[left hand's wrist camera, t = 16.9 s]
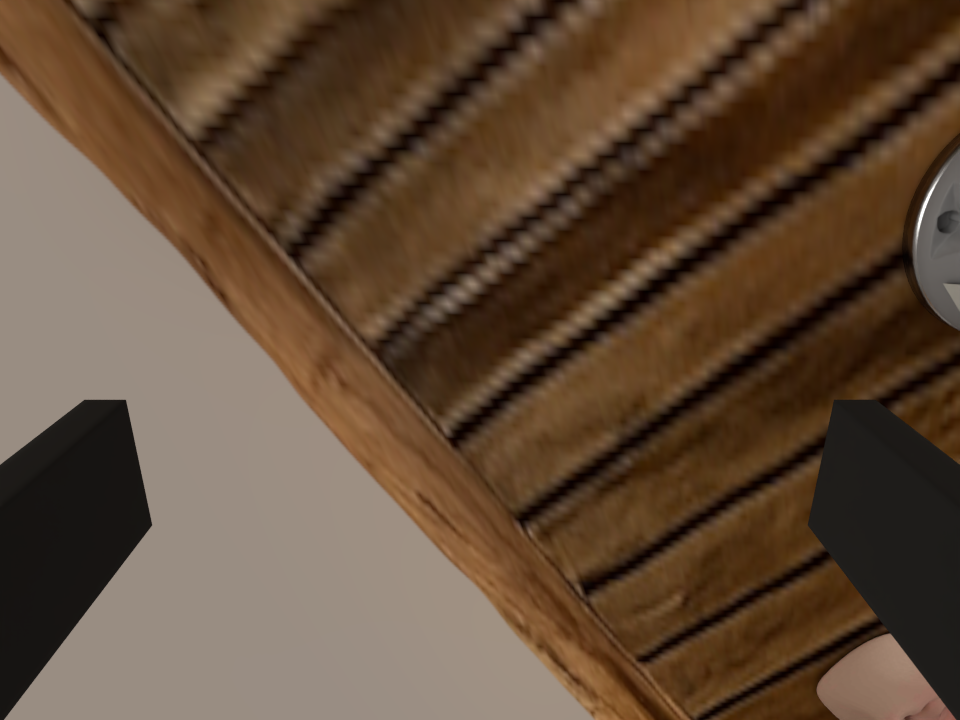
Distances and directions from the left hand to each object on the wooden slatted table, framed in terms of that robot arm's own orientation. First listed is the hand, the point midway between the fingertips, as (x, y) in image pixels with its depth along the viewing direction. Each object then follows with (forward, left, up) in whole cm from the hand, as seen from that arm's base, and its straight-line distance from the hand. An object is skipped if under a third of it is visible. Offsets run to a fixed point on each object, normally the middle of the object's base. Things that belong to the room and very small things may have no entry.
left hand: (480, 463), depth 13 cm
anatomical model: (0, +53, -32) cm, 61 cm away
